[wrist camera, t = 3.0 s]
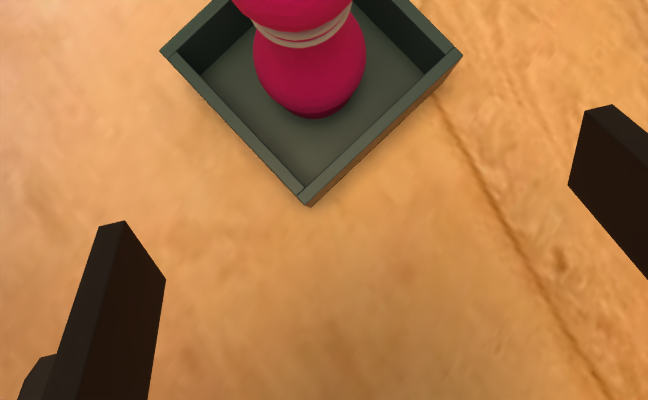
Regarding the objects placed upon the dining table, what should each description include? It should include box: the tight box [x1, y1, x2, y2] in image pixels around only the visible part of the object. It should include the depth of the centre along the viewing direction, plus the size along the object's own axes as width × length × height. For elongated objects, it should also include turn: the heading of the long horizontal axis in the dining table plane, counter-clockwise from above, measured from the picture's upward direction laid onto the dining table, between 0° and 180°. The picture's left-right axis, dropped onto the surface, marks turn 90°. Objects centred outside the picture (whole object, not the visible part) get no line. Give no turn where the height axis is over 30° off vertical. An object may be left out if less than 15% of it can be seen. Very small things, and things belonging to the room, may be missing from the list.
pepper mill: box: [232, 0, 366, 119], centre depth 23 cm, size 7×7×20 cm
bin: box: [159, 0, 463, 208], centre depth 31 cm, size 14×14×6 cm
